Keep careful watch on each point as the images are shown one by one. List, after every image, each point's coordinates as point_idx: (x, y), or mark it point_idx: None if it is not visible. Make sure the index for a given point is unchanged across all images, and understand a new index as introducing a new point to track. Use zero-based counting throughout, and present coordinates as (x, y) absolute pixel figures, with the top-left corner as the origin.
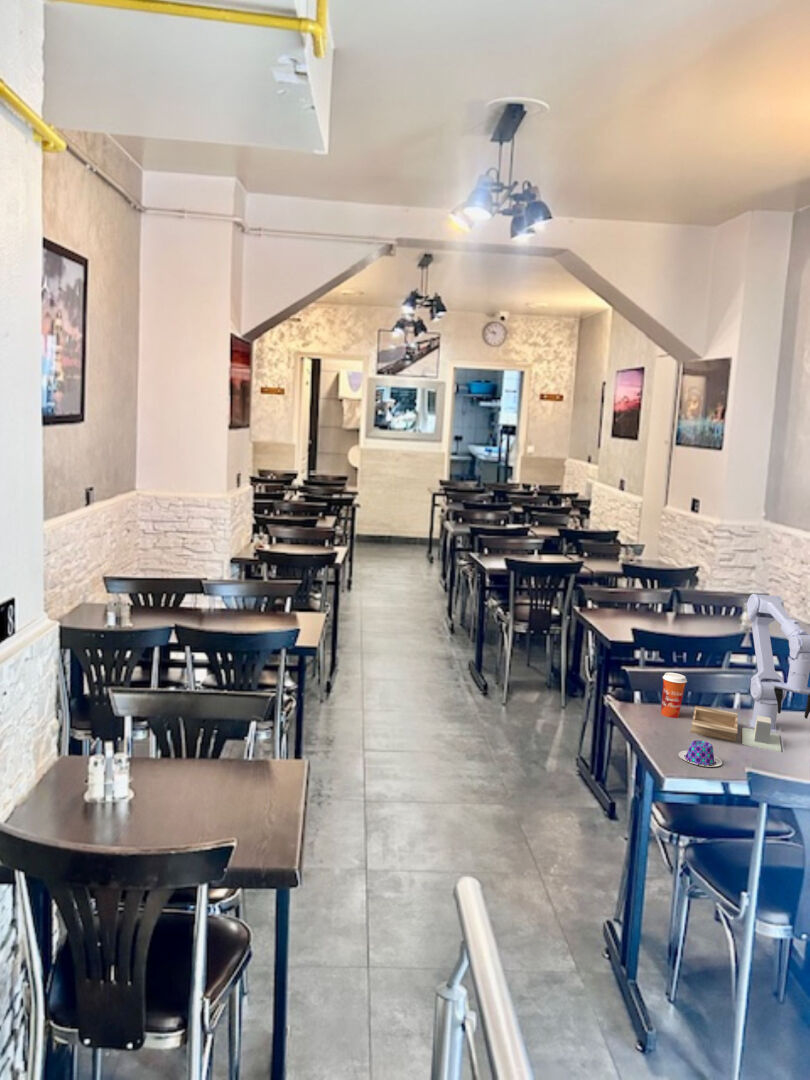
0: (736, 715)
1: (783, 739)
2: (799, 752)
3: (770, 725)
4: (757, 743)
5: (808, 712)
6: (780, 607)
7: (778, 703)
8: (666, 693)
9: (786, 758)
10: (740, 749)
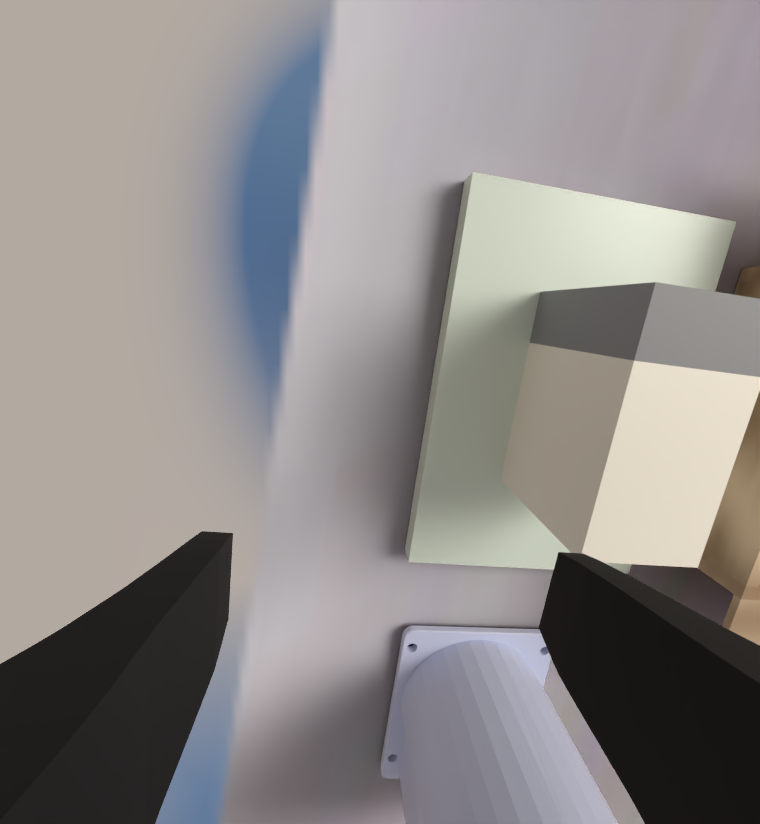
0: (735, 630)
1: (377, 529)
2: (309, 289)
3: (659, 284)
4: (624, 258)
5: (148, 580)
6: None
7: (749, 645)
8: None
9: (443, 65)
10: (752, 125)
